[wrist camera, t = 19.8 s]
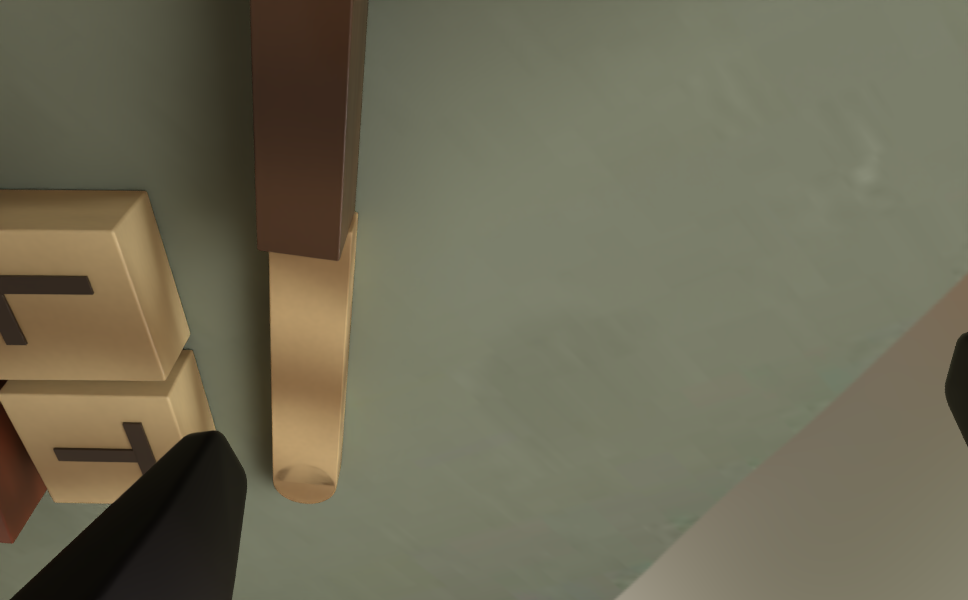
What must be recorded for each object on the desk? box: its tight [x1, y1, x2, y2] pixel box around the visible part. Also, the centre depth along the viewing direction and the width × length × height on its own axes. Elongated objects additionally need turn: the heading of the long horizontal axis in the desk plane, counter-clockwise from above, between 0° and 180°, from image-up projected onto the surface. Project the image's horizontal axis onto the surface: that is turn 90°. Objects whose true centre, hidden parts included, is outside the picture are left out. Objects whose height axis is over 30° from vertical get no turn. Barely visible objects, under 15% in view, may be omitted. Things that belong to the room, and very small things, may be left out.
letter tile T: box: [0, 350, 216, 504], centre depth 25 cm, size 6×6×2 cm
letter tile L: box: [0, 190, 190, 381], centre depth 22 cm, size 6×6×2 cm
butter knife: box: [250, 0, 369, 504], centre depth 21 cm, size 22×2×3 cm, turn 170°
